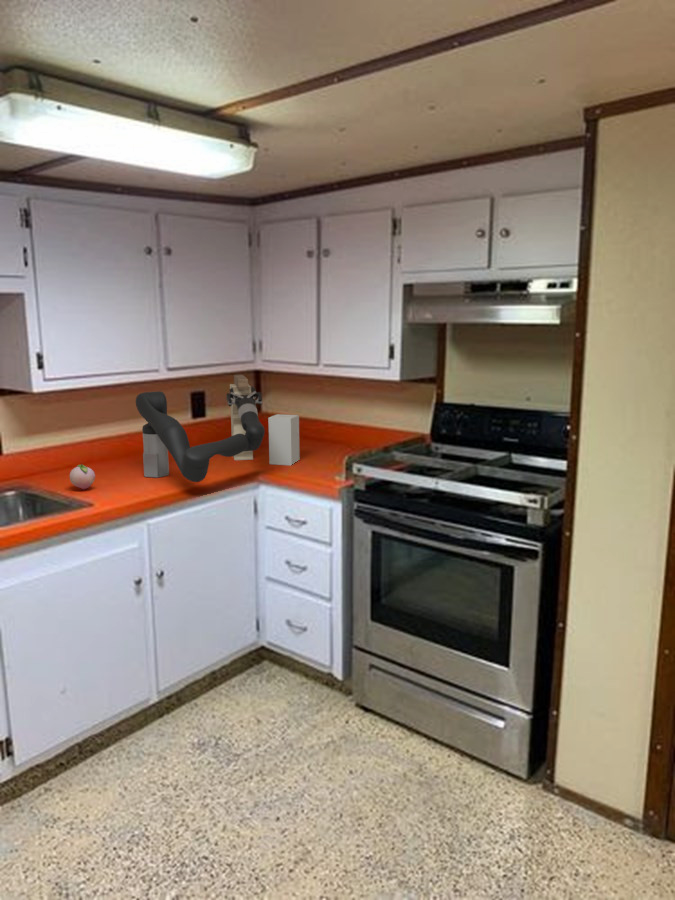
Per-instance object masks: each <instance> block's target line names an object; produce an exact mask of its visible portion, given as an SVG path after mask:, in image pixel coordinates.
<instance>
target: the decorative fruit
mask: <svg viewBox="0 0 675 900" xmlns="http://www.w3.org/2000/svg"><path fill="white" fill-rule="evenodd" d="M95 480H96V473H95V471H94V470H93V469H92V468H91V467H88V466H85V465H84V464H83V463H82V462H81V464H78V465H77V466H75V467H74V468H73V469H71V471H70V472H69V481H70V483H71V484H72V485H73V486H75V487H77V488H79V489H82V490H83V491H84V490H86V489H88V488H90V487H91V486H92V485H93V483H94V481H95Z"/></svg>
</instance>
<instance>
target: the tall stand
mask: <svg viewBox="0 0 675 900" xmlns="http://www.w3.org/2000/svg"><path fill="white" fill-rule="evenodd" d="M251 387H252V386H251V385H250V384H249V383H248V389H238V388H237V387H236V386H235V384H234V383H233V384H232V383H230V384H229V390H230V389H231V388H233V391H234V393H235V394H238V395H248V396H249V395H250V394H251V393H252V392H251ZM237 398H238V397H237ZM232 400H233V399H232ZM233 401H234V400H233ZM230 420H231V421H230V422H231V424H230V425H231V428H230V429H231V436H233V435H236V434H244V435H245V433H246V431H245V430H244V429H243V427H242V424H241V420H240V418H239V414H238V409H237V406H236V405H235V404H232V406H230ZM232 458H233V459H234V461H247V460H254V451H243V452H241V453H239V454H237V455H235V456H232Z"/></svg>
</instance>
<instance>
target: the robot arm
mask: <svg viewBox="0 0 675 900" xmlns="http://www.w3.org/2000/svg"><path fill="white" fill-rule="evenodd" d="M237 397H238V398H237ZM262 397H263V396H262V392H261V391H258V392H257V391H256V387H254V386H251V394H250V395H249V396H248V395H238V394H235V393H234V391H233V388H231V389H230V388H229V393H228V392H227V393H226V398H225V399H226V402H227V405H228V407H231V406H232V404H235V405H236V406H237V409H238V414H239V418H240V420H241V424H242V427H243V429H244V430H245V431H246V433H245V435H244V434H236V435H233V436H232V435H231V436H229V437H227V438H223V439H221V440H218V441H213V442H208V443H201V444H198V445H194V446H191V445H190V441H189V438H188V434H187V431H186V430H185V429H184V427H183V426H182V425H181V423H180V422H179V421H178V420H177V419H176V418H175V417H172V416H170V415H169V414H168V402H167V401H168V399H167V396H166V394H165V393H164V391H161V390H160V391H158V390H157V391H147V392H141V393H139V394H137V396H136V397H135V406H136V409H137V411H138V413H139V415H140V416H141V417H142V418H143V419H144V420H145V421H146V422H147V423H145V424H143V426H142V429H141V430H142V443H143V444H142V445H143V453H142V458H143V459H142V461H143V474H144V475H143V476H144V478H145V477H146V478H156V479H157V478H161V477H166V476H169V475H170V468H169V467H170V464H169V453H170V455H171V457H172V458H173V460H174V462H175V464H176V465H177V467H178V470H179V471H180V473H181V475H182V476H183V477H184V478H185V479H186V480H188V481H190V482H193V483H199V482H201V481H203V480H205V478H206V476H207V475H208V471H209V467H210V466H209V464H210V459H211V458H213V457H215V456H216V455H220V456H221V457H226V458H227V457H229V458H230V457H233V456H235V455H237V454H239V453H241V452H243V451H253V452H254V451H256V450H258V449H259V448H260V446H261V444H262V442H263V439H264V436H265V432H266V431H265V427H264V425H263V424H262V422H260V419H259V416H258V415H259V414H258V409H257V406H256V404H258V405H259V406H261V405H263V398H262ZM232 399H233V400H234V401H233V400H232Z"/></svg>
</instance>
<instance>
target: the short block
mask: <svg viewBox="0 0 675 900" xmlns="http://www.w3.org/2000/svg"><path fill="white" fill-rule="evenodd" d="M267 419H268V421H267V422H268V454H269V455H268V457H269V460H268V461H269V465H278V466H291V465H292V464H293V465H295V464H296V463H295V462H297V461H298V460H300V416H299V414H281V413H280V414H279V413H278V414H277V413H276V414H274V415H271V416H270V417H269V416H268V418H267ZM298 462H299V461H298ZM298 462H297V463H298ZM294 463H295V464H294ZM293 465H292V466H293Z"/></svg>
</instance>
